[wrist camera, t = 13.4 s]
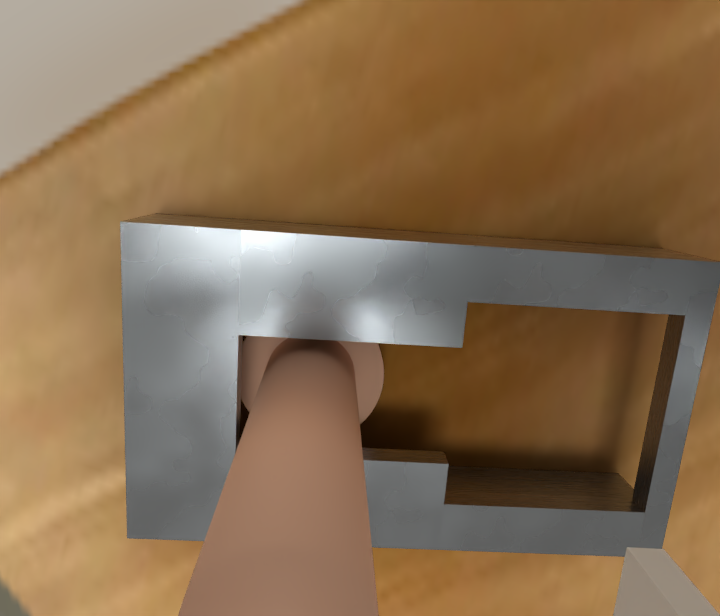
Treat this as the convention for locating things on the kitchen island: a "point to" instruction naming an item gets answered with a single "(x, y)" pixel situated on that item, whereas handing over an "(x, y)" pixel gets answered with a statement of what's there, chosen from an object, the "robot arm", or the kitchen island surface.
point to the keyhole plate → (391, 326)
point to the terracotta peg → (295, 488)
